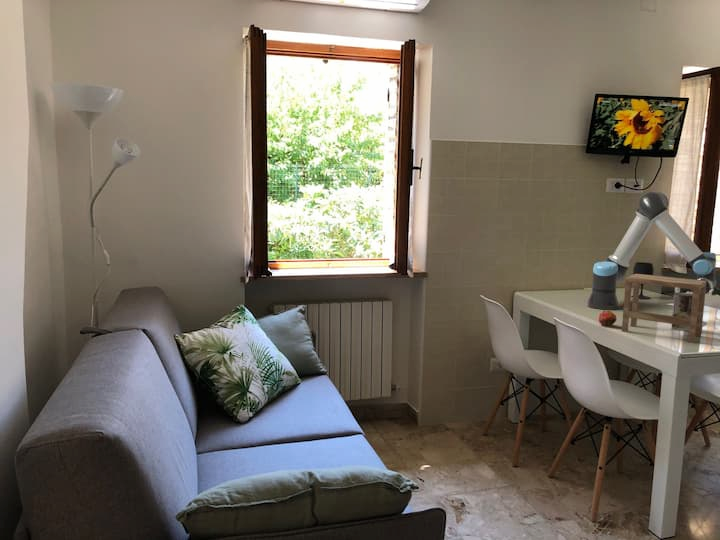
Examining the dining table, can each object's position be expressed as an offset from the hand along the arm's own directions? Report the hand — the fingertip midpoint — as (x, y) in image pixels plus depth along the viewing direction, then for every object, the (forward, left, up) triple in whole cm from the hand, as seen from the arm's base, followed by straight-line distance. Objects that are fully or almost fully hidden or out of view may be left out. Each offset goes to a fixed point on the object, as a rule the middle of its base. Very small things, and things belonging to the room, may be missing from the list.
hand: (692, 292), depth 263 cm
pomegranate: (-32, -21, -16) cm, 42 cm away
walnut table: (-10, -23, -15) cm, 30 cm away
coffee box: (-2, -9, -16) cm, 19 cm away
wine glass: (-25, +63, -16) cm, 69 cm away
